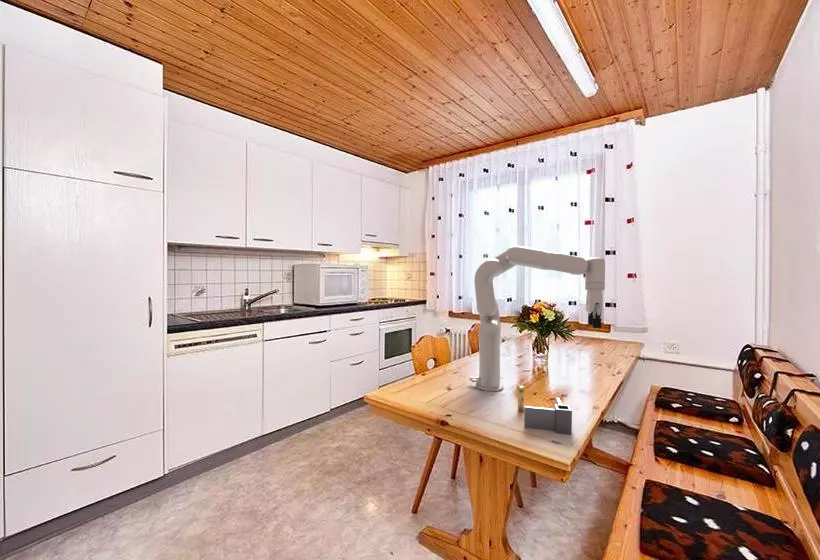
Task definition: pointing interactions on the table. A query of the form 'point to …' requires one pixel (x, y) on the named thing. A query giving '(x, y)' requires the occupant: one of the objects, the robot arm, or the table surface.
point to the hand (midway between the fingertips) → (594, 326)
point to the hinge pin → (520, 397)
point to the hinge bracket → (549, 418)
